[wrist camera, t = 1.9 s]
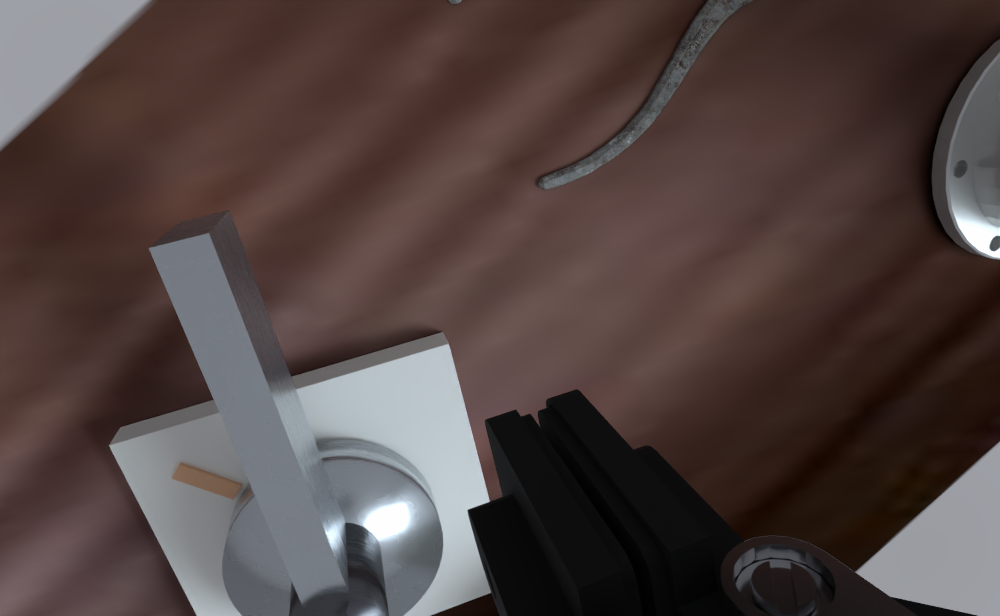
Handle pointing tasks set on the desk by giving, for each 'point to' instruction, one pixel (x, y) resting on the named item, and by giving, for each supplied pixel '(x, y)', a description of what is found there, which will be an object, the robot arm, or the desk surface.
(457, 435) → the dial plate
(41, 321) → the desk surface
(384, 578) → the dial
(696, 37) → the pliers
